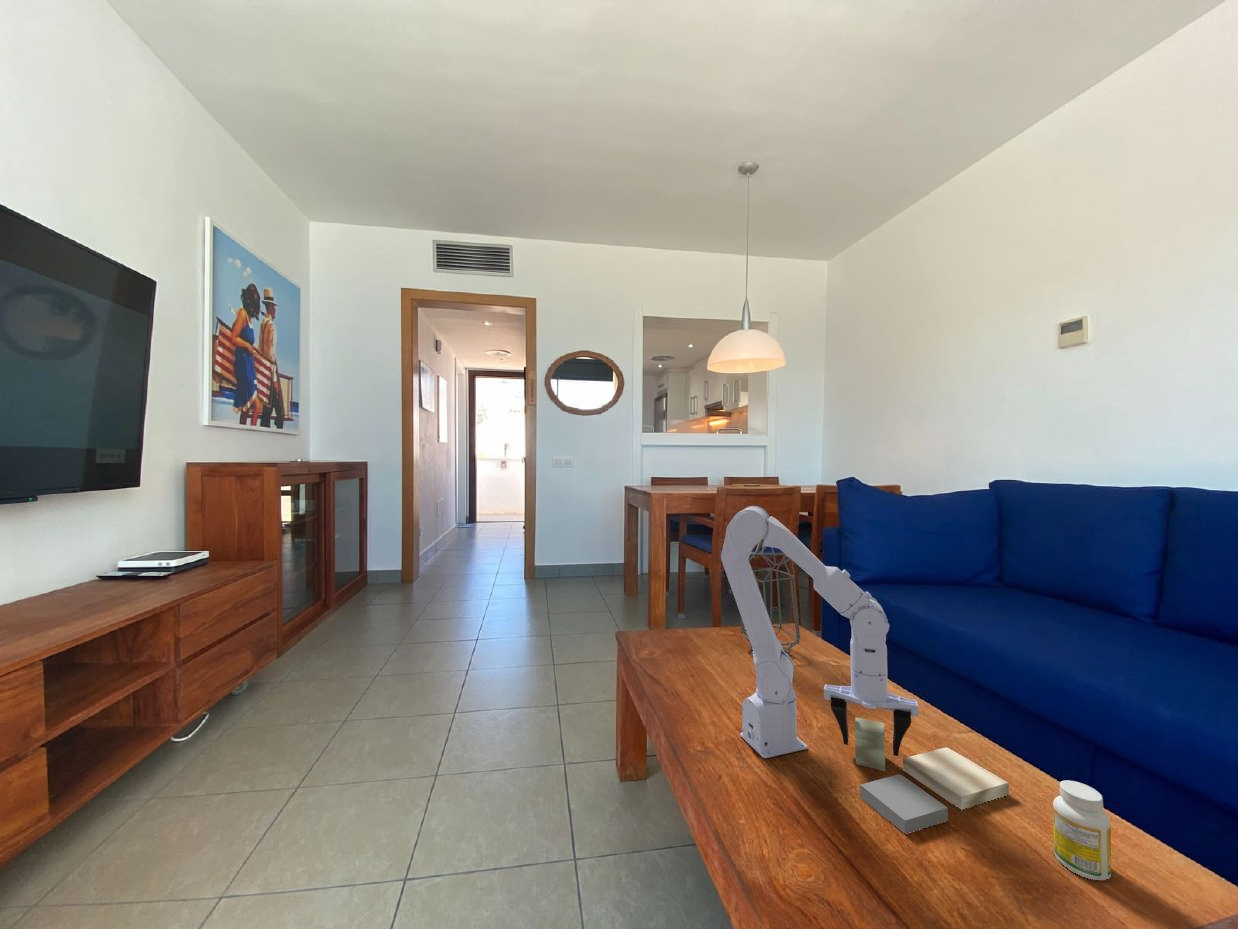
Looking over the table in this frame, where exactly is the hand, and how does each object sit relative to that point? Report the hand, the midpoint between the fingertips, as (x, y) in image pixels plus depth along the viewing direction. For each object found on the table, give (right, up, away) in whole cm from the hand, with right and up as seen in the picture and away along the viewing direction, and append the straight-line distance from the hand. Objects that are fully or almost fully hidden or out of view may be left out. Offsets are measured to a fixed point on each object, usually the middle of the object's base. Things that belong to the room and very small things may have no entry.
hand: (870, 747), depth 84 cm
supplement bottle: (+15, -2, -22) cm, 27 cm away
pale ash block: (+10, -2, -6) cm, 12 cm away
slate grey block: (-1, -2, -12) cm, 12 cm away
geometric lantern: (-3, -3, +48) cm, 49 cm away
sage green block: (0, -2, 0) cm, 2 cm away
